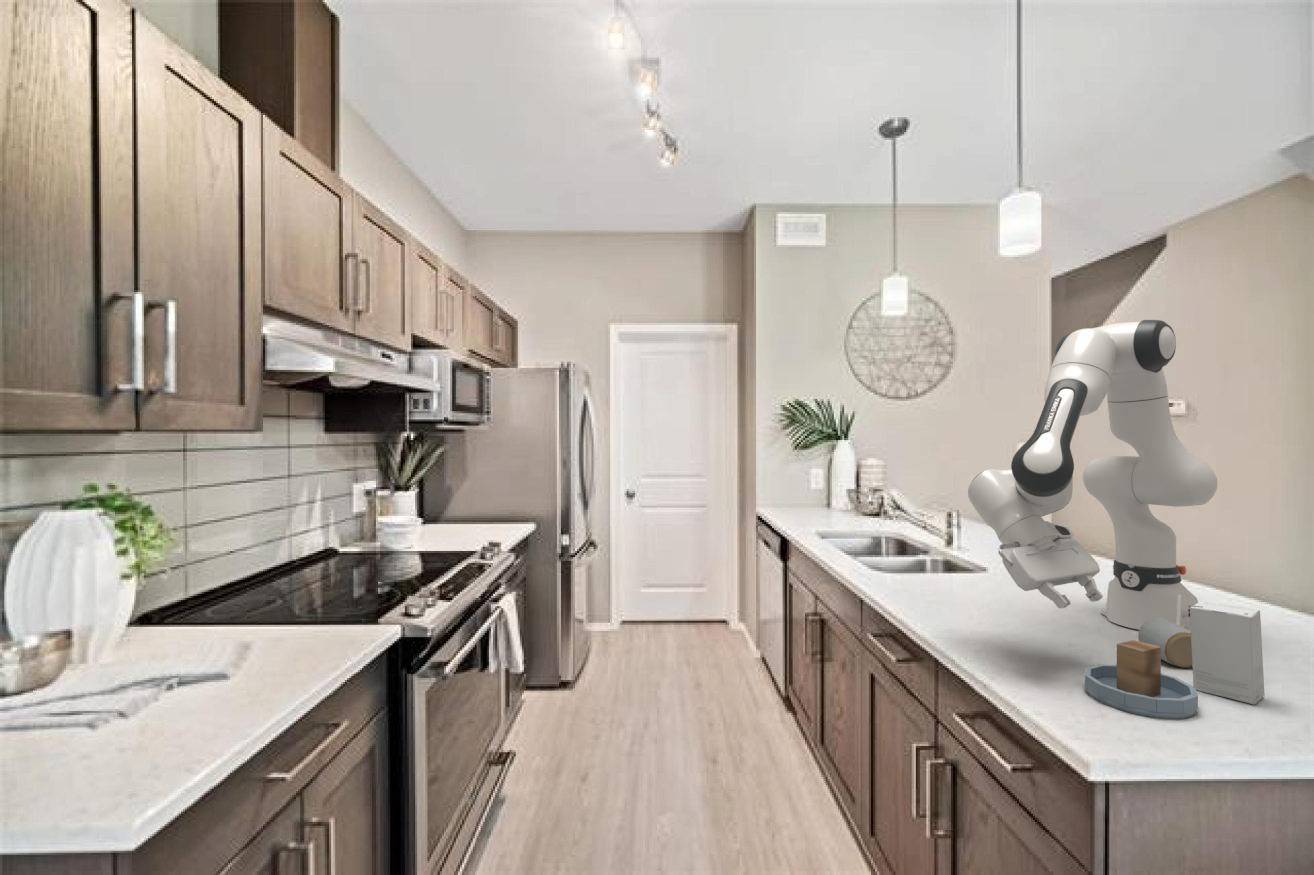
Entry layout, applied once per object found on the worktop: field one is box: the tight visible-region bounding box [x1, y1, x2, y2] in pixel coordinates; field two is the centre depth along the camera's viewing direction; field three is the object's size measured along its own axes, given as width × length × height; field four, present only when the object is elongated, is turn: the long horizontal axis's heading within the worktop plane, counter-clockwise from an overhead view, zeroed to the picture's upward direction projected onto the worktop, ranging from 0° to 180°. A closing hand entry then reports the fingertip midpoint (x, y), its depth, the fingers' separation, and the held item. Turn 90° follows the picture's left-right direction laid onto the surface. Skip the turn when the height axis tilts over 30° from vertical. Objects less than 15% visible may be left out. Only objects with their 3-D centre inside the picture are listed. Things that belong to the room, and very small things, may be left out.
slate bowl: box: [1084, 663, 1199, 720], centre depth 104 cm, size 15×15×3 cm
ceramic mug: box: [1137, 617, 1193, 669], centre depth 121 cm, size 11×8×8 cm
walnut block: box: [1116, 639, 1162, 697], centre depth 104 cm, size 5×4×8 cm
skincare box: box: [1190, 600, 1265, 705], centre depth 106 cm, size 8×6×15 cm
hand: (1082, 603), depth 113 cm, fingers open, 8 cm apart
